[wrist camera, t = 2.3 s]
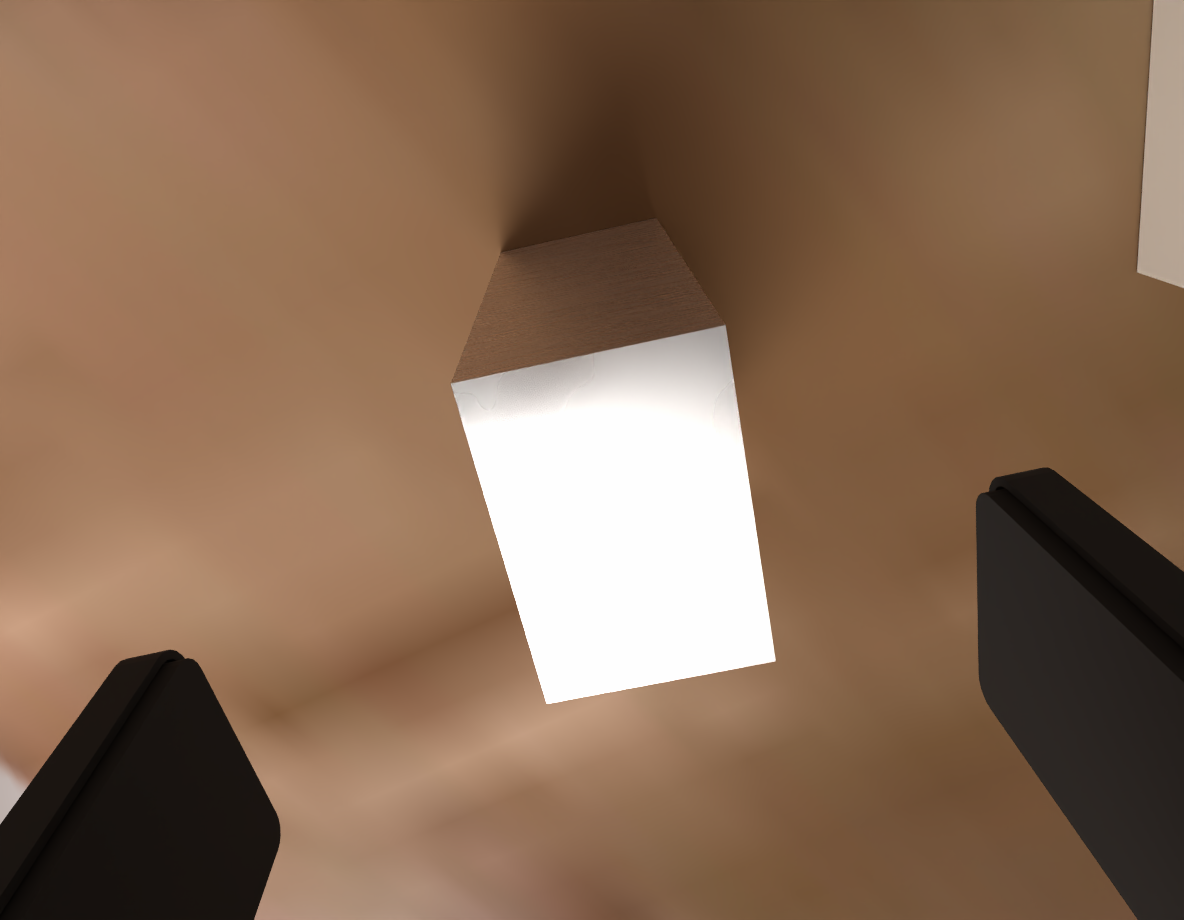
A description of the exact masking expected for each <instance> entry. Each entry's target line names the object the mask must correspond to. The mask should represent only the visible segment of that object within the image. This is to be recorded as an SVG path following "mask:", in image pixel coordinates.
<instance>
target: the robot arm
mask: <svg viewBox="0 0 1184 920" xmlns="http://www.w3.org/2000/svg"><path fill="white" fill-rule="evenodd" d="M976 536H977V598H978V659H979V681H980V685H981V689H982V692H983V695H984V697H985V699H986V702H987V704H988V705H989V707H990V709H991V710H992V712H993V713H994V714H995V716H996V717H997V719H998V720H999V722H1000V723H1001V724H1002V726H1003V727H1004V729H1005V730H1006V732H1007V733H1008V734H1009V736H1010V737H1011V739H1012V740H1013V742H1014V743H1015V745H1016V746H1017V747H1018V749H1019V750H1020V752H1021V753H1022V755H1023V756H1024V757H1025V759H1026V760H1027V762H1028V763H1029V765H1030V766H1031V767H1032V769H1033V770H1034V772H1035V773H1036V775H1037V776H1038V777H1039V779H1040V780H1041V782H1042V783H1043V785H1044V786H1045V787H1046V789H1047V790H1048V792H1049V793H1050V795H1051V796H1052V797H1053V799H1054V800H1055V802H1056V803H1057V805H1058V806H1059V807H1060V809H1061V810H1062V812H1063V813H1064V815H1065V816H1066V817H1067V819H1068V820H1069V822H1070V823H1071V825H1072V826H1073V827H1074V829H1075V830H1076V832H1077V833H1078V835H1079V836H1080V837H1081V839H1082V840H1083V842H1084V843H1085V845H1086V846H1087V848H1088V849H1089V850H1090V852H1091V853H1092V855H1093V856H1094V858H1095V859H1096V860H1097V862H1098V863H1099V865H1100V866H1101V868H1102V869H1103V870H1104V872H1105V873H1106V875H1107V876H1108V878H1109V879H1110V880H1111V882H1112V883H1113V885H1114V886H1115V888H1116V889H1117V890H1118V892H1119V893H1120V895H1121V896H1122V898H1123V899H1124V900H1125V902H1126V903H1127V905H1128V906H1129V908H1130V909H1131V910H1132V912H1133V913H1134V915H1135V916H1136V918H1137V919H1138V920H1184V572H1183V571H1182V570H1180V569H1179V568H1178V567H1177V566H1175V565H1174V564H1173V563H1172V562H1170V561H1169V560H1168V559H1166V558H1165V557H1164V556H1163V555H1161V554H1160V553H1159V552H1157V551H1156V550H1155V549H1154V548H1152V547H1151V546H1150V545H1149V544H1147V543H1146V542H1145V541H1143V540H1142V539H1141V538H1140V537H1138V536H1137V535H1136V534H1134V533H1133V532H1132V531H1131V530H1129V529H1128V528H1127V527H1126V526H1124V525H1123V524H1122V523H1120V522H1119V521H1118V520H1117V519H1115V518H1114V517H1113V516H1112V515H1110V514H1109V513H1108V512H1106V511H1105V510H1104V509H1103V508H1101V507H1100V506H1099V505H1097V504H1096V503H1095V502H1094V501H1092V500H1091V499H1090V498H1089V497H1087V496H1086V495H1085V494H1083V493H1082V492H1081V491H1080V490H1078V489H1077V488H1076V487H1074V486H1073V485H1072V484H1071V483H1069V482H1068V481H1067V480H1066V479H1064V478H1063V477H1062V476H1060V475H1059V474H1058V473H1057V472H1055V471H1054V470H1052V469H1050V468H1039V469H1034V470H1029V471H1025V472H1020V473H1015V474H1010V475H1005V476H1001V477H996V478H995V479H994V480H993V481H992V482H991V485H990V488H989V492H986V493H981V494H980V495H979V496H978V498H977V501H976ZM279 844H280V823H279V819H278V816H277V813H276V811H275V810H274V808H273V806H272V804H271V802H270V800H269V798H268V796H267V794H266V792H265V790H264V788H263V786H262V785H261V783H260V781H259V779H258V777H257V775H256V773H255V771H254V769H253V767H252V765H251V763H250V761H249V760H248V758H247V756H246V754H245V752H244V750H243V748H242V746H241V744H240V742H239V740H238V738H237V736H236V734H235V733H234V731H233V729H232V727H231V725H230V723H229V721H228V719H227V717H226V715H225V713H224V711H223V709H222V708H221V706H220V704H219V702H218V700H217V698H216V696H215V694H214V692H213V690H212V688H211V686H210V684H209V683H208V681H207V679H206V677H205V675H204V673H203V671H202V669H201V667H200V666H199V664H198V663H197V662H196V661H194V660H193V659H189V658H187V659H185V658H184V657H183V656H182V655H181V654H180V653H178V652H177V651H174V650H166V651H162V652H157V653H152V654H147V655H142V656H138V657H133V658H128V659H125V660H122V661H120V662H119V663H118V664H117V665H116V666H115V667H114V669H113V670H112V671H111V673H110V674H109V675H108V677H107V678H106V680H105V681H104V682H103V684H102V685H101V686H100V688H99V689H98V691H97V692H96V693H95V695H94V696H93V698H92V699H91V700H90V702H89V703H88V704H87V706H86V707H85V709H84V710H83V711H82V713H81V714H80V715H79V717H78V718H77V720H76V721H75V722H74V724H73V725H72V726H71V728H70V729H69V731H68V732H67V733H66V735H65V736H64V737H63V739H62V740H61V742H60V743H59V744H58V746H57V747H56V749H55V750H54V751H53V753H52V754H51V755H50V757H49V758H48V760H47V761H46V762H45V764H44V765H43V766H42V768H41V769H40V771H39V772H38V773H37V775H36V776H35V777H34V779H33V780H32V782H31V783H30V784H29V786H28V787H27V788H26V790H25V791H24V793H23V794H22V795H21V797H20V798H19V800H18V801H17V802H16V804H15V805H14V806H13V808H12V809H11V811H10V812H9V813H8V815H7V816H6V817H5V819H4V820H3V822H2V823H1V824H0V920H254V918H255V915H256V912H257V909H258V906H259V903H260V900H261V897H262V895H263V892H264V889H265V886H266V883H267V880H268V877H269V874H270V871H271V868H272V866H273V863H274V860H275V857H276V854H277V851H278V848H279Z"/></svg>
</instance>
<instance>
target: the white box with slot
mask: <svg viewBox="0 0 1184 920" xmlns="http://www.w3.org/2000/svg"><path fill="white" fill-rule="evenodd" d="M1137 272H1138V273H1141V274H1144V275H1147V276H1150V277H1153V278H1156V279H1159V280H1162V281H1164V282H1167V283H1170V284H1173V285H1176V286H1179V287H1182V288H1184V0H1154V5H1153V21H1152V37H1151V54H1150V70H1149V86H1148V102H1147V119H1146V135H1145V151H1144V167H1143V184H1142V200H1141V216H1140V232H1139V249H1138V265H1137Z"/></svg>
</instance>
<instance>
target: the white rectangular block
mask: <svg viewBox="0 0 1184 920" xmlns="http://www.w3.org/2000/svg"><path fill="white" fill-rule="evenodd" d="M451 386H452V389H453V393H454V396H455V399H456V403H457V406H458V409H459V413H460V416H461V419H462V423H463V426H464V429H465V433H466V436H467V439H468V443H469V446H470V449H471V453H472V456H473V459H474V463H475V466H476V469H477V473H478V476H479V479H480V483H481V486H482V489H483V493H484V496H485V499H486V503H487V506H488V509H489V513H490V516H491V519H492V523H493V526H494V529H495V533H496V536H497V539H498V543H499V546H500V549H501V553H502V556H503V559H504V563H505V566H506V569H507V573H508V576H509V579H510V583H511V586H512V589H513V593H514V596H515V599H516V603H517V606H518V609H519V613H520V616H521V619H522V623H523V626H524V629H525V633H526V636H527V639H528V643H529V646H530V649H531V653H532V656H533V659H534V663H535V666H536V669H537V673H538V676H539V680H540V683H541V686H542V690H543V693H544V696H545V700H546V703H547V704H549V703H554V702H559V701H565V700H570V699H575V698H581V697H586V696H591V695H597V694H602V693H607V692H613V691H618V690H623V689H629V688H634V687H640V686H645V685H650V684H656V683H661V682H666V681H672V680H677V679H682V678H688V677H693V676H698V675H704V674H709V673H714V672H720V671H725V670H730V669H736V668H741V667H747V666H752V665H757V664H763V663H768V662H773V661H775V654H774V647H773V641H772V634H771V627H770V620H769V614H768V607H767V600H766V594H765V587H764V580H763V573H762V567H761V560H760V553H759V547H758V540H757V533H756V526H755V520H754V513H753V506H752V500H751V493H750V486H749V480H748V473H747V466H746V459H745V453H744V446H743V439H742V433H741V426H740V419H739V412H738V406H737V399H736V392H735V386H734V379H733V372H732V365H731V359H730V352H729V345H728V339H727V332H726V325H725V324H724V322H723V320H722V319H721V317H720V316H719V314H718V313H717V311H716V310H715V308H714V307H713V305H712V303H711V302H710V300H709V299H708V297H707V296H706V294H705V293H704V291H703V289H702V288H701V286H700V285H699V283H698V282H697V280H696V279H695V277H694V275H693V274H692V272H691V271H690V269H689V268H688V266H687V265H686V263H685V261H684V260H683V258H682V257H681V255H680V254H679V252H678V251H677V249H676V247H675V246H674V244H673V243H672V241H671V240H670V238H669V237H668V235H667V234H666V232H665V230H664V229H663V227H662V226H661V224H660V223H659V221H658V220H657V218H653V219H649V220H644V221H640V222H635V223H631V224H626V225H622V226H617V227H613V228H608V229H604V230H599V231H595V232H590V233H586V234H581V235H577V236H572V237H568V238H563V239H559V240H554V241H550V242H545V243H541V244H536V245H532V246H527V247H523V248H518V249H514V250H509V251H505V252H501V253H500V256H499V259H498V261H497V264H496V266H495V269H494V272H493V274H492V277H491V280H490V282H489V285H488V287H487V290H486V293H485V295H484V298H483V300H482V303H481V306H480V308H479V311H478V314H477V316H476V319H475V321H474V324H473V327H472V329H471V332H470V335H469V337H468V340H467V342H466V345H465V348H464V350H463V353H462V356H461V358H460V361H459V363H458V366H457V369H456V371H455V374H454V377H453V379H452V382H451Z"/></svg>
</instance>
